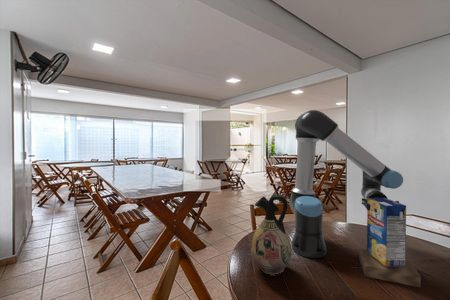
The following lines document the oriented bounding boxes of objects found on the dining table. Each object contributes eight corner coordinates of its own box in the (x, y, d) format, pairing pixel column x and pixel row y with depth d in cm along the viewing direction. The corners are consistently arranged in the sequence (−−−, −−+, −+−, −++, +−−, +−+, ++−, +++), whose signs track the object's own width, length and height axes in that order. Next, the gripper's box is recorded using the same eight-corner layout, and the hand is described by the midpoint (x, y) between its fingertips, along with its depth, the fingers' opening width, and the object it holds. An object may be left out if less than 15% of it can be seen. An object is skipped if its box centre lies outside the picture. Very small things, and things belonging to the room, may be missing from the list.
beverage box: (385, 266, 77) (386, 205, 76) (366, 251, 88) (367, 197, 87) (405, 266, 77) (406, 205, 76) (384, 251, 88) (384, 197, 87)
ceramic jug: (247, 277, 79) (246, 196, 78) (254, 256, 94) (254, 188, 93) (295, 286, 74) (296, 200, 73) (295, 262, 89) (296, 190, 88)
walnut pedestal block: (364, 276, 79) (365, 265, 79) (358, 257, 92) (358, 248, 92) (420, 287, 73) (420, 276, 73) (405, 265, 86) (405, 255, 86)
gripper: (400, 209, 95) (423, 228, 73) (353, 204, 102) (362, 221, 81) (400, 192, 95) (424, 207, 73) (353, 189, 102) (362, 202, 80)
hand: (391, 214), depth 77 cm, fingers closed on beverage box, 5 cm apart
